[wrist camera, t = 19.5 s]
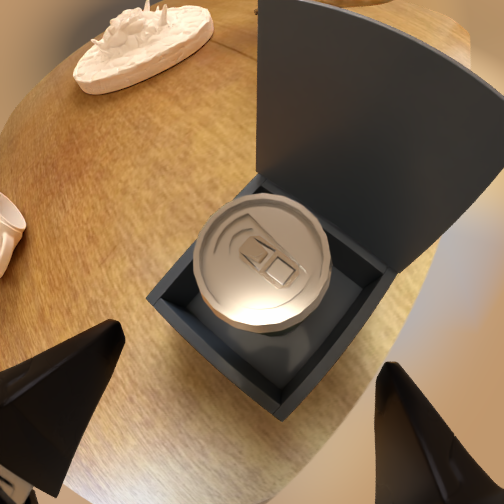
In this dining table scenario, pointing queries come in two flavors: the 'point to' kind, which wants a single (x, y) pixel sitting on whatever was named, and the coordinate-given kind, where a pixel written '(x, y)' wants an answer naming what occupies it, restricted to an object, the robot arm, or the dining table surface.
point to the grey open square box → (293, 343)
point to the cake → (142, 46)
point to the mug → (9, 230)
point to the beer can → (262, 263)
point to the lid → (372, 126)
